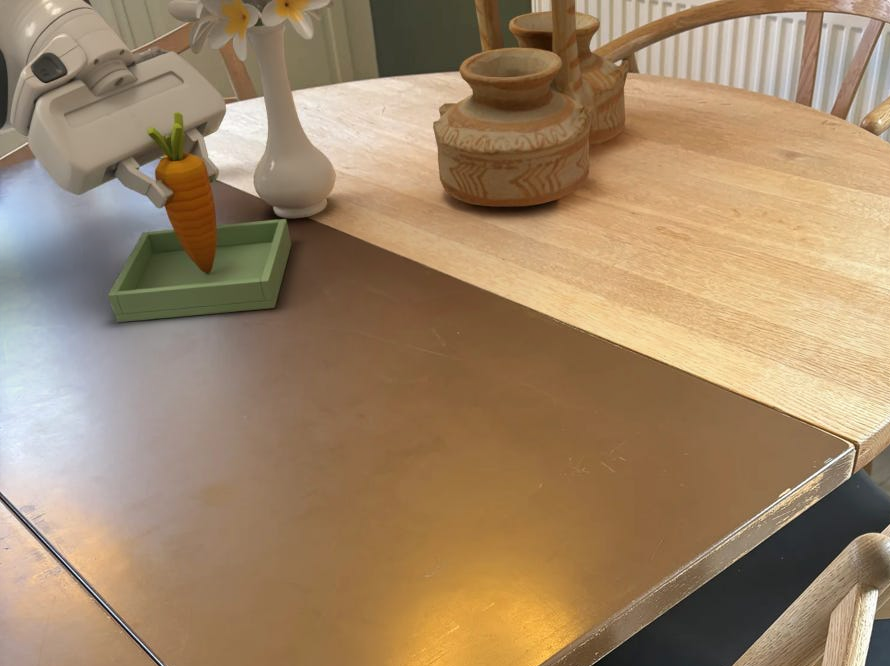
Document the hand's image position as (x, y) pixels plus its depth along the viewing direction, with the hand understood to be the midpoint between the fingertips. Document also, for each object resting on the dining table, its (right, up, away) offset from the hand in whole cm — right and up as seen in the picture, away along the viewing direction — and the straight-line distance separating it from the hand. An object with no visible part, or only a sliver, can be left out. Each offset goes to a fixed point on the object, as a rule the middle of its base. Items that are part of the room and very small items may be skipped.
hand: (190, 190), depth 98 cm
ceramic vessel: (+35, +14, +24) cm, 45 cm away
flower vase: (+7, +6, +20) cm, 22 cm away
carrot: (0, -6, +6) cm, 9 cm away
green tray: (0, -7, +7) cm, 9 cm away
